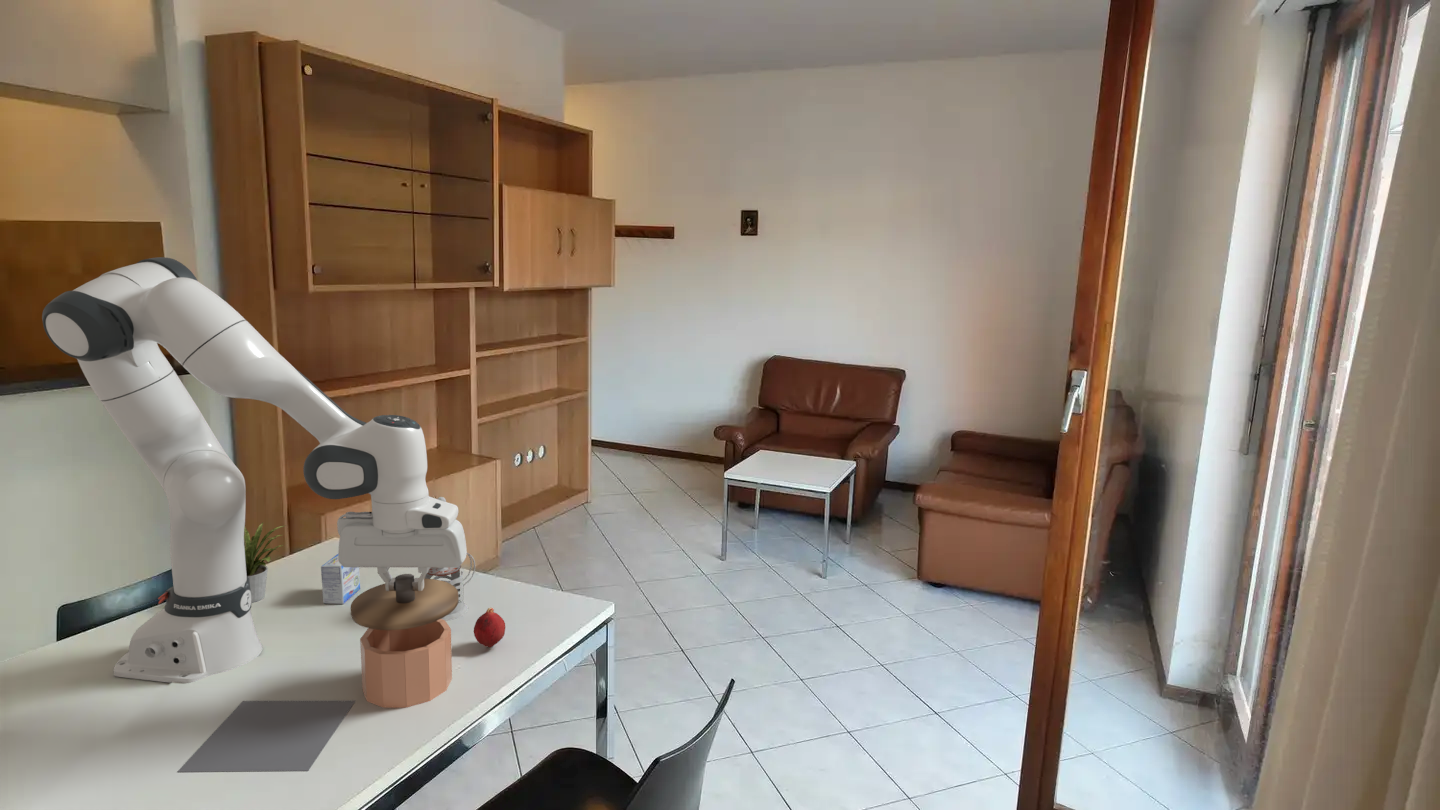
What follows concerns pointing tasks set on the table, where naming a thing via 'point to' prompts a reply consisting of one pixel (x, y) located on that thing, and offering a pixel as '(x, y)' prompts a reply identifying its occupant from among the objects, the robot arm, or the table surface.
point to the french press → (452, 583)
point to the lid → (404, 604)
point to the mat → (269, 737)
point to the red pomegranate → (489, 628)
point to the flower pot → (406, 664)
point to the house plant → (257, 562)
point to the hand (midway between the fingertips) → (405, 589)
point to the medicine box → (339, 581)
